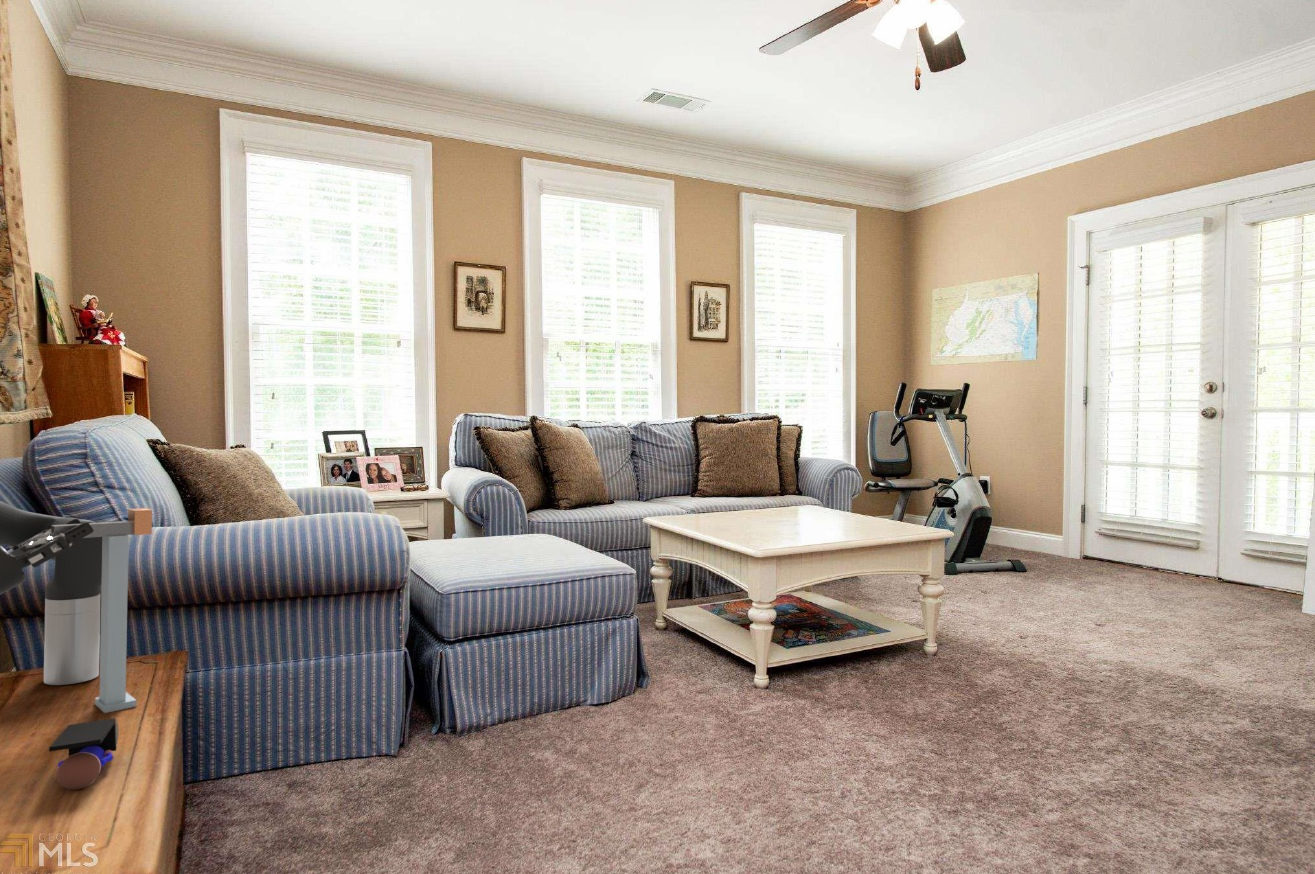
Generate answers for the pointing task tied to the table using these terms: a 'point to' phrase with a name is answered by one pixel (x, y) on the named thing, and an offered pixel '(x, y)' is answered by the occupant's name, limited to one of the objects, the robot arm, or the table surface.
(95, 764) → the figurine character
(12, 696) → the table surface
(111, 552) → the post
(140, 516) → the grey handled tool
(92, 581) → the robot arm
